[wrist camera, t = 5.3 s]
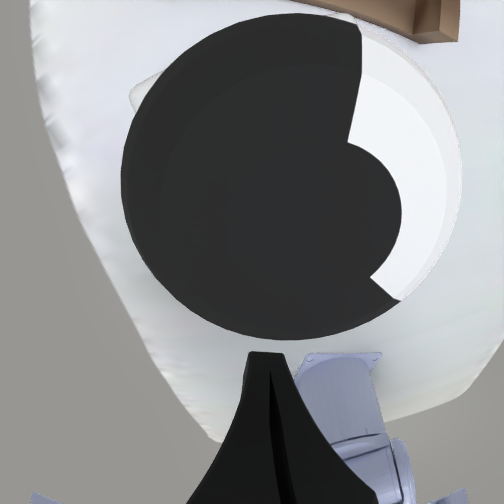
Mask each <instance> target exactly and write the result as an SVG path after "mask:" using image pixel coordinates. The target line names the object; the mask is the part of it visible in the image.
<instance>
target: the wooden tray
mask: <svg viewBox="0 0 504 504" xmlns="http://www.w3.org/2000/svg"><path fill="white" fill-rule="evenodd" d="M291 1H296V2H301V3H305V4H310V5H314V6H318V7H322V8H326V9H329V10H333V11H336V12H340V13H347V14H349V15H351V16H353V17H356V18H359V19H362V20H364V21H367V22H370V23H373V24H375V25H378V26H381V27H383V28H386V29H388V30H390V31H393V32H395V33H397V34H400V35H402V36H404V37H406V38H409V39H411V40H413V41H415V42H417V43H419V44H429V43H442V42H458V33H459V20H460V0H291Z"/></svg>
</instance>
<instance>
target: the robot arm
mask: <svg viewBox="0 0 504 504" xmlns="http://www.w3.org/2000/svg"><path fill="white" fill-rule="evenodd" d="M381 356H382V353H310V354H308V355H307V356H306V357H305V360H304V362H303V364H302V366H301V368H300V370H299V372H298V374H297V376H296V378H295V380H293V378H292V375H291V373H290V370H289V368H288V365H287V362H286V359H285V356H284V354H283V353H271V352H255V351H251V352H249V353H248V358H247V362H246V366H245V371H244V375H243V385H242V393H241V399H240V402H239V405H238V408H237V411H236V413H235V416H234V419H233V421H232V424H231V426H230V428H229V431H228V433H227V435H226V437H225V439H224V441H223V443H222V446H221V448H220V450H219V451H218V453H217V455H216V457H215V459H214V461H213V463H212V464H211V466H210V468H209V469H208V471H207V473H206V474H205V476H204V478H203V479H202V481H201V482H200V484H199V486H198V487H197V488H196V490H195V491H194V493H193V494H192V496H191V497H190V498H189V500H188V502H187V503H186V504H417V502H416V497H415V492H416V488H415V482H414V477H413V473H412V468H411V464H410V460H409V456H408V452H407V449H406V446H405V443H404V441H402V440H399V439H398V438H394V439H392V440H391V442H392V446H393V451H392V447H391V443H390V440H389V437H388V434H387V432H386V429H385V425H384V421H383V417H382V414H381V410H380V407H379V403H378V400H377V396H376V393H375V390H374V386H373V383H372V380H371V376H370V371H371V370H372V369H373V367H374V366H375V365H376V363H377V362H378V360H379V359H380V358H381ZM375 358H377V359H376V360H373V359H375ZM308 359H313V360H311V361H307V360H308ZM393 453H394V455H393ZM394 458H395V459H394ZM400 484H401V485H400ZM30 504H64V503H61V502H59V501H56V500H54V499H50V498H47V497H45V496H43V495H41V494H39V493H36V492H32V496H31V501H30ZM427 504H469V503H468V498H467V494H466V490H465V488H462V489H459V490H457V491H455V492H453V493H451V494H449V495H447V496H444V497H441V498H439V499H436V500H434V501H431V502H429V503H427Z"/></svg>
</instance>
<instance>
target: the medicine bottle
mask: <svg viewBox="0 0 504 504" xmlns="http://www.w3.org/2000/svg"><path fill="white" fill-rule="evenodd" d="M129 100H130V103H131V105H132V107H133V109H134V111H135V113H136V114H135V116H134V118H133V120H132V123H131V126H130V129H129V133H128V136H127V139H126V142H125V146H124V151H123V158H122V166H121V198H122V204H123V209H124V214H125V219H126V223H127V225H128V228H129V231H130V234H131V237H132V240H133V242H134V244H135V246H136V248H137V250H138V252H139V254H140V256H141V257H142V259H143V261H144V262H145V264H146V265H147V267H148V268H149V269H150V271H151V272H152V273H153V275H154V276H155V278H156V279H157V280H158V281H159V282H160V283H161V284H162V285H163V286H164V287H165V288H166V289H167V290H168V291H169V292H170V293H171V294H172V295H173V296H174V297H175V298H176V299H177V300H178V301H179V302H181V303H182V304H183V305H184V306H186V307H187V308H188V309H189V310H191V311H192V312H194V313H195V314H197V315H199V316H200V317H202V318H204V319H205V320H207V321H209V322H211V323H213V324H215V325H218V326H220V327H222V328H224V329H227V330H230V331H233V332H236V333H239V334H242V335H247V336H252V337H257V338H262V339H272V340H305V339H314V338H320V337H325V336H329V335H334V334H337V333H341V332H344V331H347V330H350V329H353V328H355V327H358V326H360V325H362V324H364V323H367V322H369V321H371V320H373V319H374V318H376V317H378V316H380V315H381V314H383V313H385V312H386V311H388V310H389V309H391V308H392V307H394V306H395V305H396V304H398V303H399V302H400V301H402V300H403V299H404V298H405V297H406V296H407V295H408V294H410V293H411V292H412V291H413V290H414V289H415V288H416V287H417V286H418V285H419V284H420V283H421V281H422V280H423V279H424V278H425V277H426V276H427V275H428V273H429V272H430V271H431V269H432V268H433V266H434V265H435V264H436V262H437V261H438V259H439V257H440V256H441V254H442V252H443V250H444V248H445V247H446V245H447V243H448V240H449V238H450V236H451V233H452V230H453V228H454V225H455V222H456V218H457V214H458V210H459V206H460V200H461V191H462V162H461V154H460V148H459V142H458V137H457V133H456V129H455V126H454V123H453V121H452V118H451V115H450V112H449V110H448V108H447V106H446V104H445V102H444V100H443V98H442V96H441V95H440V93H439V91H438V89H437V88H436V86H435V85H434V84H433V82H432V81H431V80H430V78H429V77H428V76H427V74H426V73H425V72H424V70H423V69H422V68H421V67H420V66H419V65H418V64H417V63H416V62H415V61H414V60H413V59H412V58H410V57H409V56H408V55H407V54H406V53H405V52H404V51H403V50H401V49H400V48H398V47H397V46H396V45H394V44H393V43H391V42H390V41H388V40H387V39H385V38H384V37H382V36H381V35H379V34H376V33H374V32H372V31H370V30H368V29H366V28H364V27H362V26H360V25H357V22H356V20H355V19H354V18H353V16H351V15H349V14H347V13H336V14H330V15H324V16H322V15H313V14H303V13H292V14H277V15H267V16H262V17H258V18H254V19H250V20H246V21H242V22H238V23H236V24H233V25H231V26H229V27H226V28H224V29H222V30H220V31H217V32H215V33H213V34H211V35H209V36H207V37H206V38H204V39H203V40H201V41H200V42H198V43H197V44H195V45H194V46H192V47H191V48H189V49H188V50H186V51H185V52H184V53H182V54H181V55H180V56H179V57H178V58H177V59H176V60H175V61H174V62H173V63H172V64H171V65H170V66H169V67H168V68H167V69H165V70H163V71H161V72H159V73H157V74H156V75H154V76H152V77H150V78H148V79H146V80H144V81H143V82H141V83H139V84H137V85H136V86H135V87H134V88H133V89H132V90H131V91H130V94H129Z"/></svg>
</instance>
